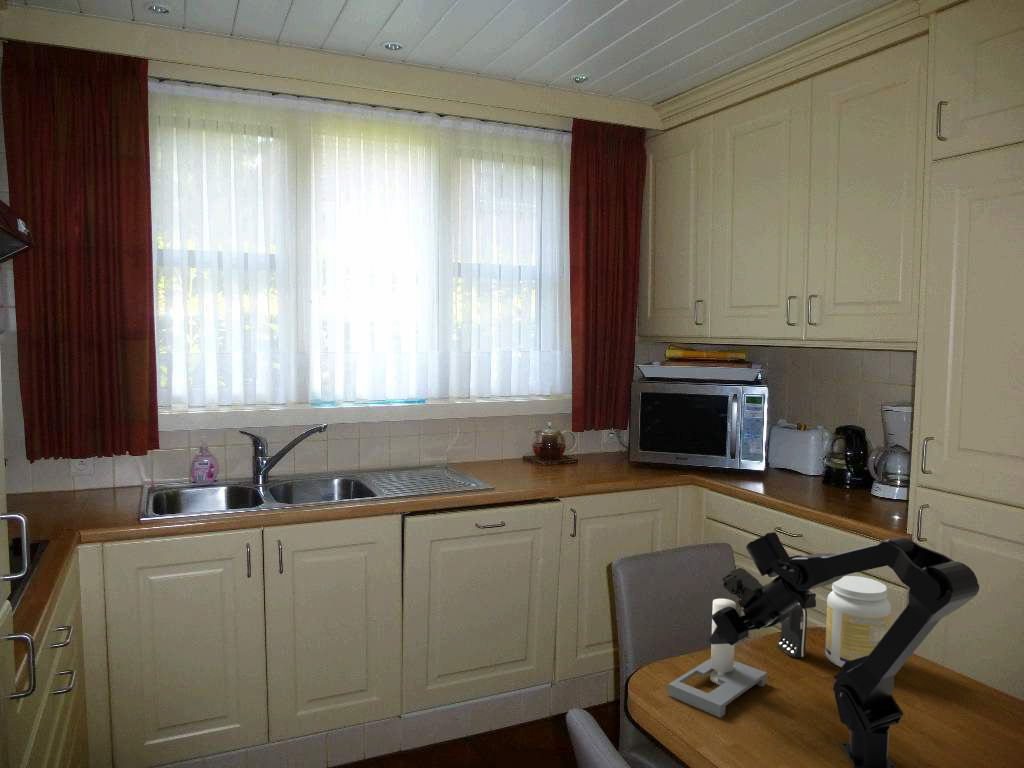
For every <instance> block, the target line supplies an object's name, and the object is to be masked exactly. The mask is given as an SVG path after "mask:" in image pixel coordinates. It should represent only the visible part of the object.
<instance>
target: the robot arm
mask: <svg viewBox="0 0 1024 768" xmlns="http://www.w3.org/2000/svg"><path fill="white" fill-rule="evenodd" d="M745 549H746V550H747V551H746V552H747V553H748V555H749V556H750V558H751V560H752V562H753V563H754V565H755V567H756V569H757V570H758V572H759V574H760V575H761V577H763V576H764V577H765V576H766V575H767V577H768V578H774V577H775V578H774V579H772V580H771V581H770V582H769V583H766V584H764V585H763V584H762V583H760V582H759V580H758V579H757V578H756V577H754V576H753V575H752V574H751V573H750V572H749V571H747V570H746V569H744V568H742V567H739V568H735V569H733V570H731V571H729V573H727V575H726V576H724V577H723V578H722V582H723V583H722V586H723V588H724V590H726V591H727V592H728V593H729V594H730V595H731V596H732V595H735V596H736V597H737V598H738V599H739V600H738V601H737V603H738V605H739V606H740V608H742V611H743V615H740V614H739V613H738V611H737V610H735V608H732V607H729V606H728V607H726V608H723V609H721V610H719V611H717V612H716V613H715V614H713V615H712V616H711V620H712V619H713V621H714V622H715V624H716V625H717V627H716V629H715V630H714V632H713V634H712V633H711V636H710V637H709V640H708V641H709V642H710V644H730V645H734V646H735V645H736V644H738V643H740V642H742V641H743V640H745V639H747V638H748V637H749V634H750V632H749V631H753V630H761V629H764V628H765V629H766V628H771V627H774V626H775V625H777V624H781V623H780V622H782V621H784V620H785V619H787V618H788V617H789V611H790V609H791V608H793V607H794V606H795V605H797V604H798V603H799V604H800V606H801V607H802V609H814V608H816V607H817V600H816V599H817V598H816V596H817V593H816V592H812V591H811V590H813V589H818V588H822V587H827V586H831V585H833V583H834V582H836V581H838V580H840V579H841V578H842V577H844V576H849V575H852V574H855V573H860V572H864V571H869V570H873V569H878V568H879V569H880V568H882V567H888V568H890V569H891V570H893V572H894V573H895V574H896V576H897V577H898V579H899V580H900V582H901V584H904V585H905V586H907V587H908V588H909V589H908V602H907V605H906V607H905V608H904V609H903V610H902V611H901V613H900V614H899V615H898V617H897V618H896V620H895V621H894V622H893V624H891V625H890V629H889V630H888V631H887V632H886V634H885V635H884V636H883V638H882V639H881V640H880V642H879V643H878V644H877V645H876V647H875V648H874V649H873V651H872V652H871V653H870V654H869V655H867V656H864V657H861V658H857V659H854V660H851V661H847V662H845V663H844V665H843V666H842V667H840V668H841V669H840V670H839V672H838V674H836V675H833V679H835V681H834V682H833V684H832V691H833V692H834V697H835V702H836V708H837V711H838V716H839V720H840V723H842V724H844V725H846V727H847V729H848V730H849V743H848V742H842V743H841V748H842V750H843V752H844V753H845V755H846V756H847V758H848V759H849V761H850V763H851V764H852V766H853V767H854V768H897V765H895V763H894V762H893V760H892V759H891V758H890V756H889V743H890V742H889V741H890V739H889V738H890V726H892V725H895V724H899V723H901V720H902V718H903V716H904V712H903V710H902V709H901V707H900V705H899V704H898V703H897V701H896V699H895V698H894V696H893V691H894V689H895V676H896V675H897V673H898V672H899V671H900V670H901V668H903V666H904V665H905V663H907V661H908V660H909V658H910V657H911V656H912V655H913V654H914V652H915V651H916V650H917V648H918V647H919V646H920V645H921V644H922V643H923V641H924V640H926V638H927V637H928V635H929V634H931V632H932V631H933V629H934V628H935V627H936V626H937V624H938V623H939V622H940V621H941V620H942V619H943V618H946V617H947V616H948V615H951V614H952V613H954V612H955V611H957V610H958V609H960V608H962V607H963V606H964V605H966V604H967V603H968V602H970V601H971V600H973V599H974V598H975V597H976V596H977V595H978V593H979V591H980V584H979V582H978V578H977V575H976V574H975V572H974V571H973V569H972V568H970V567H969V565H967V564H965V563H963V562H960V561H955V560H954V559H951V558H950V557H949V556H946V555H945V554H943V553H940V552H937V551H936V550H932V549H929V548H927V547H925V546H922V545H920V544H918V543H917V542H916V541H914V540H912V539H910V538H907V537H904V536H899V537H894V538H888V539H884V540H882V541H880V542H879V543H875V544H870V545H867V546H864V547H858V548H855V549H852V550H847V551H843V552H839V553H834V552H833V553H831V552H828V553H827V552H825V553H824V552H823V553H814V554H807V555H803V554H800V555H793V556H790V555H789V553H788V552H787V550H786V549H785V547H784V546H783V543H782V542H781V540H780V538H779V535H778V534H777V532H776V531H772V532H767V533H765V534H764V535H763V536H760V537H758V538H756V539H754V540H753V541H749V543H747V545H746V547H745ZM777 618H778V619H777Z"/></svg>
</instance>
